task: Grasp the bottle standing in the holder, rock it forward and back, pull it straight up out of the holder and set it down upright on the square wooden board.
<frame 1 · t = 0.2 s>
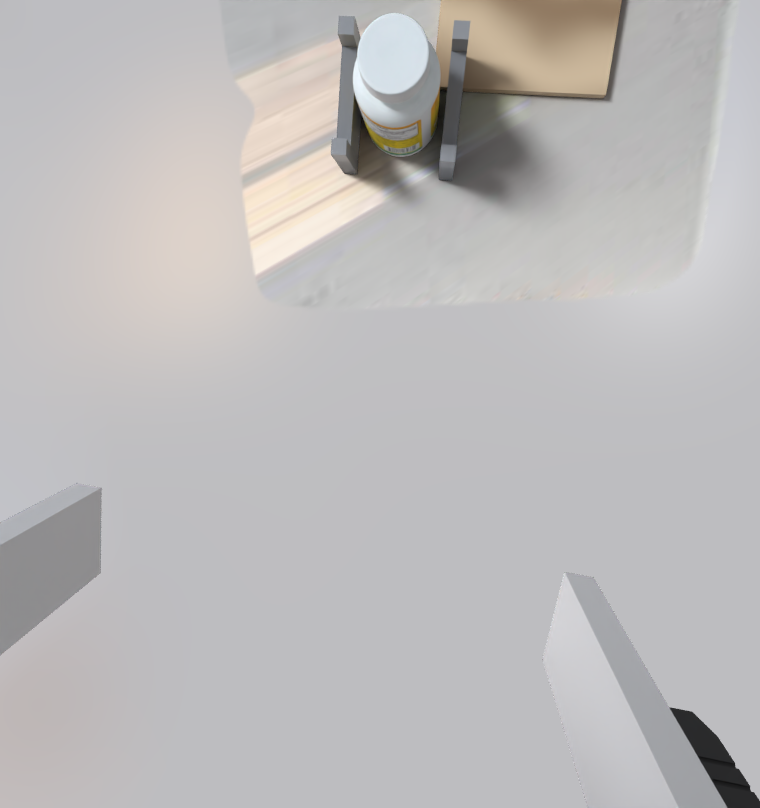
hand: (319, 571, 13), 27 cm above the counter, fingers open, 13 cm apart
supplement bottle: (402, 119, 36), on the counter
holder: (402, 118, 36), on the counter
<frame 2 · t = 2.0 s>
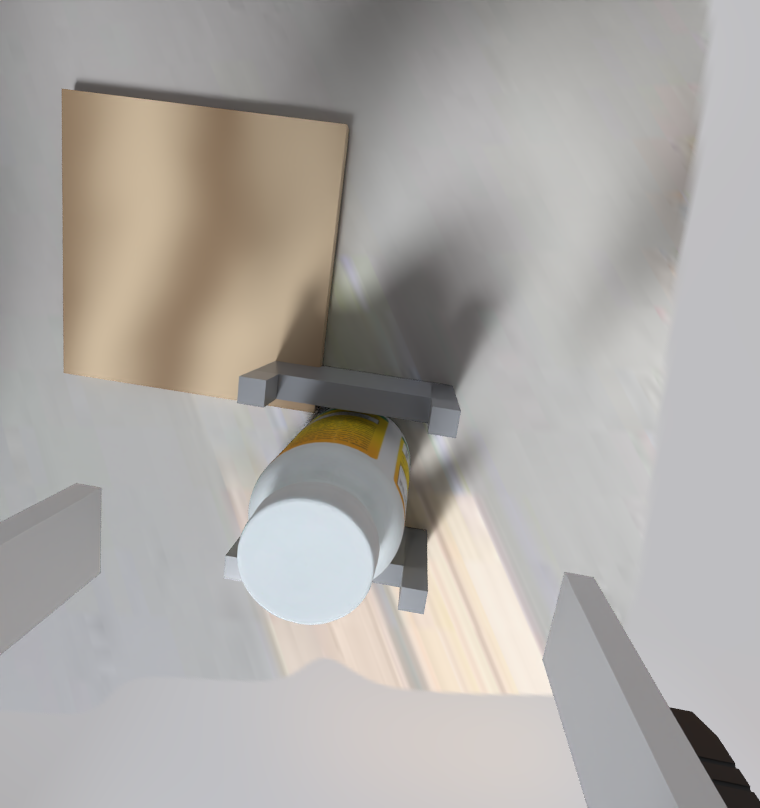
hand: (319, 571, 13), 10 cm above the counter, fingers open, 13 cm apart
square wooden board: (200, 259, 22), on the counter
supplement bottle: (354, 455, 23), on the counter
holder: (353, 457, 23), on the counter
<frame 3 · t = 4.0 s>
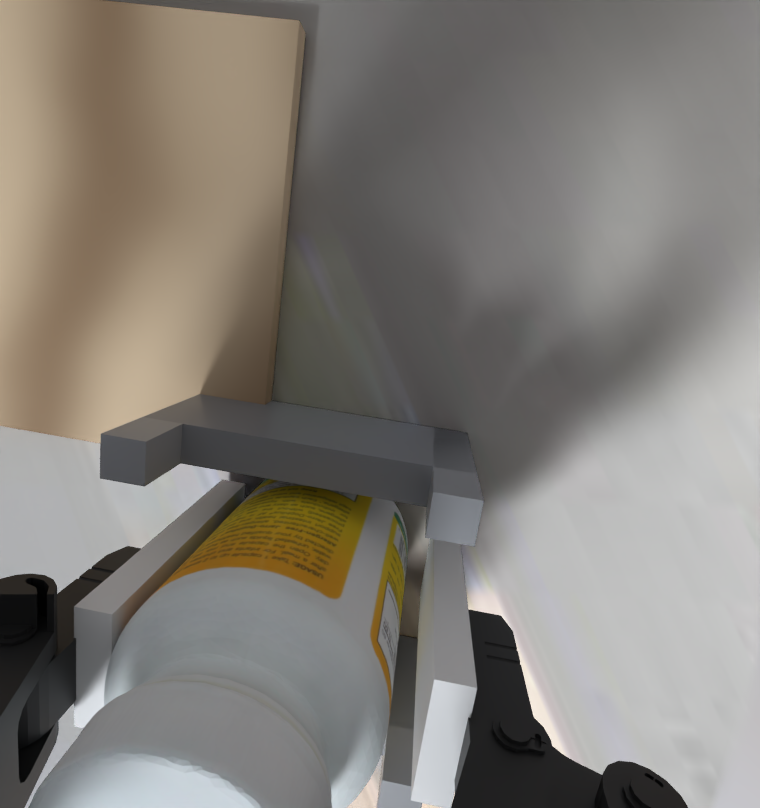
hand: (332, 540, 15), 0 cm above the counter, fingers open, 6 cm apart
square wooden board: (88, 241, 14), on the counter
supplement bottle: (326, 531, 16), on the counter, touching gripper
holder: (320, 533, 16), on the counter
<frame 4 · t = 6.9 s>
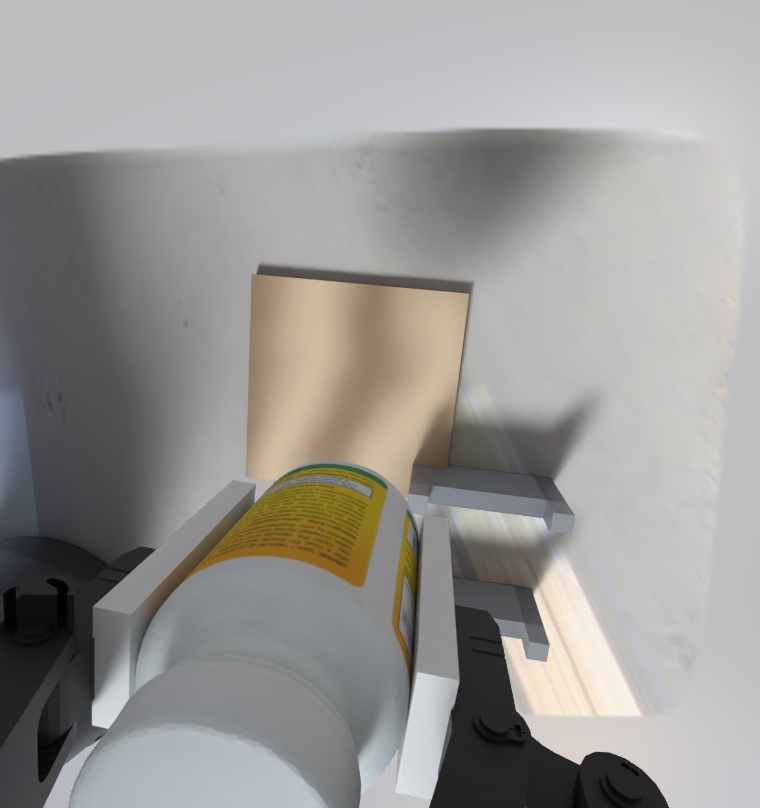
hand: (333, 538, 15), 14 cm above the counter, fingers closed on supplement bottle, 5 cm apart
square wooden board: (351, 389, 28), on the counter
supplement bottle: (338, 529, 16), point 13 cm above the counter, touching gripper
holder: (471, 533, 29), on the counter
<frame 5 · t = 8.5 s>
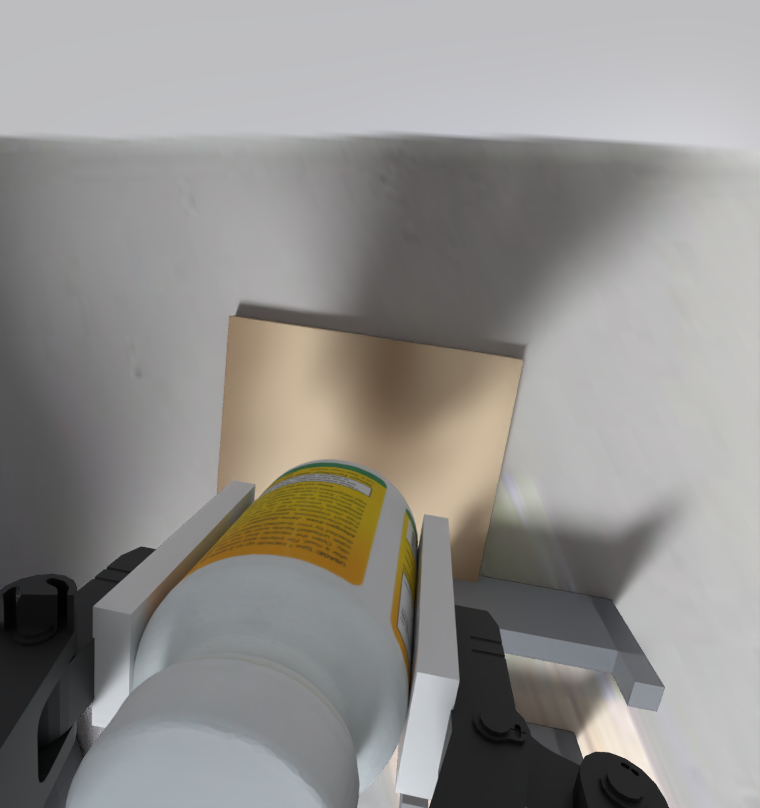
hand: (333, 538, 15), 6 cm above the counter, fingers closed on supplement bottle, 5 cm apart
square wooden board: (356, 472, 21), on the counter
supplement bottle: (337, 528, 16), point 5 cm above the counter, touching gripper
holder: (502, 660, 23), on the counter
when the fingers open (2 cm above the counter, at t = 9.6 s): supplement bottle stays where it is, resting on square wooden board.
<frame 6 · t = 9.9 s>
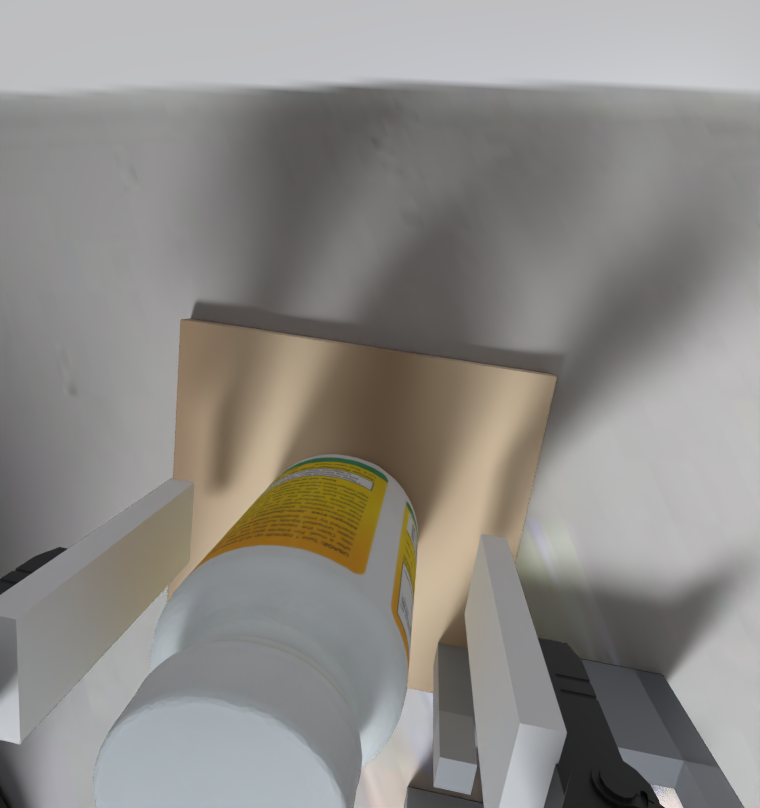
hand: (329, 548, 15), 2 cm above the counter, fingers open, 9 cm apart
square wooden board: (343, 514, 17), on the counter
supplement bottle: (340, 521, 17), resting on square wooden board
holder: (524, 745, 18), on the counter
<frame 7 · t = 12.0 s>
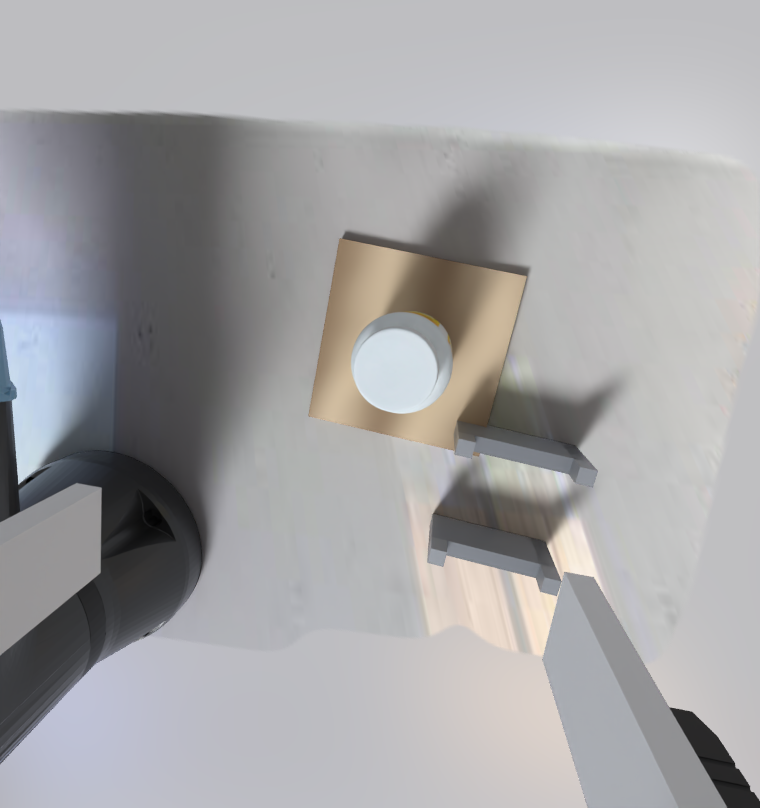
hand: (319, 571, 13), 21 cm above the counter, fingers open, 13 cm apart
square wooden board: (411, 349, 32), on the counter
supplement bottle: (410, 351, 32), resting on square wooden board
holder: (499, 487, 34), on the counter
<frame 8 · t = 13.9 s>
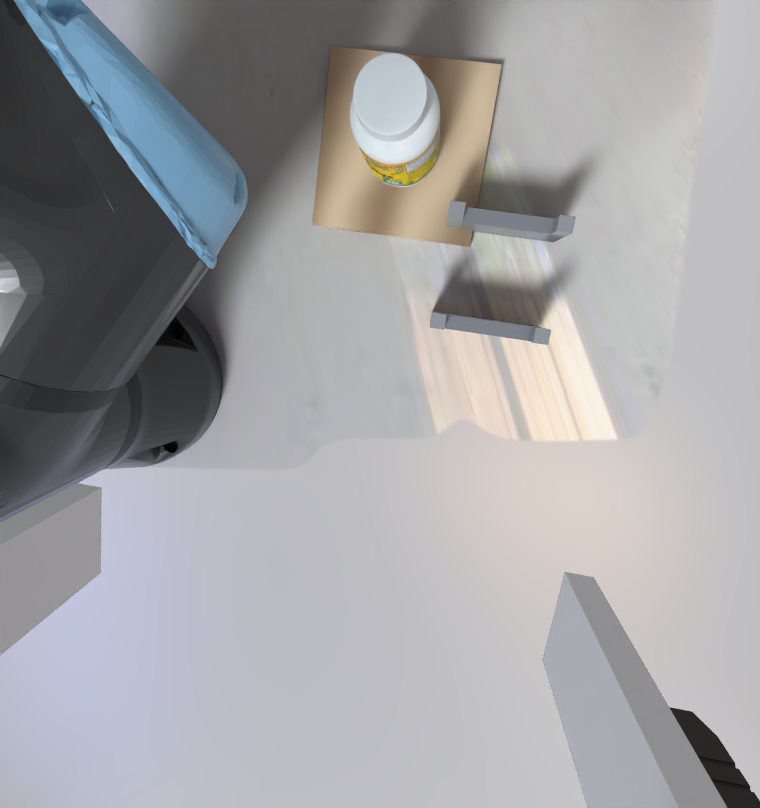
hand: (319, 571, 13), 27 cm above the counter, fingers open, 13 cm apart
square wooden board: (402, 150, 36), on the counter
supplement bottle: (402, 150, 35), resting on square wooden board
holder: (491, 277, 37), on the counter
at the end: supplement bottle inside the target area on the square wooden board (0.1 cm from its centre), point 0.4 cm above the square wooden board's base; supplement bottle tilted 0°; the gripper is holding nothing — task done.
